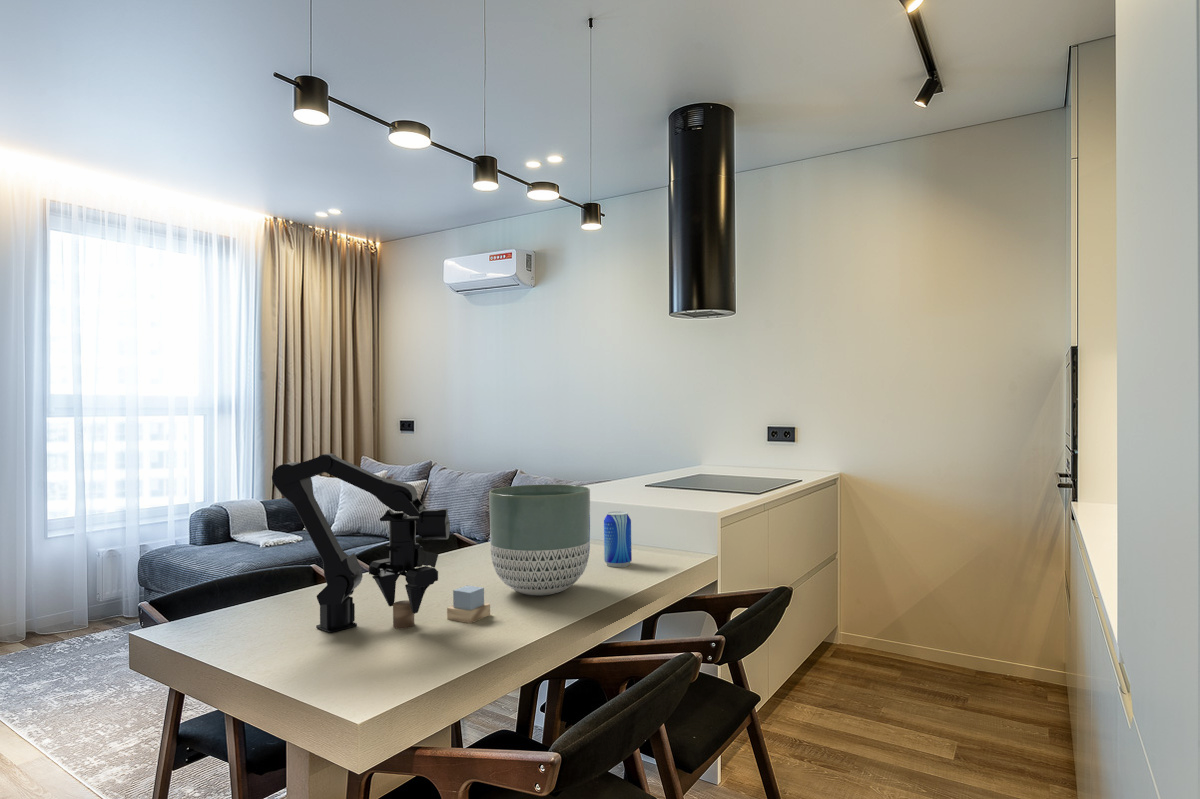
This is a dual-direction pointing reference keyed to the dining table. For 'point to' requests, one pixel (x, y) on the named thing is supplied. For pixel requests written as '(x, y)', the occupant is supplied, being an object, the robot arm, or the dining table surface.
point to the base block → (468, 613)
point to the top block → (468, 597)
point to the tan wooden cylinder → (402, 615)
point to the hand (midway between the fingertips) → (403, 609)
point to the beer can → (617, 539)
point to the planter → (540, 536)
